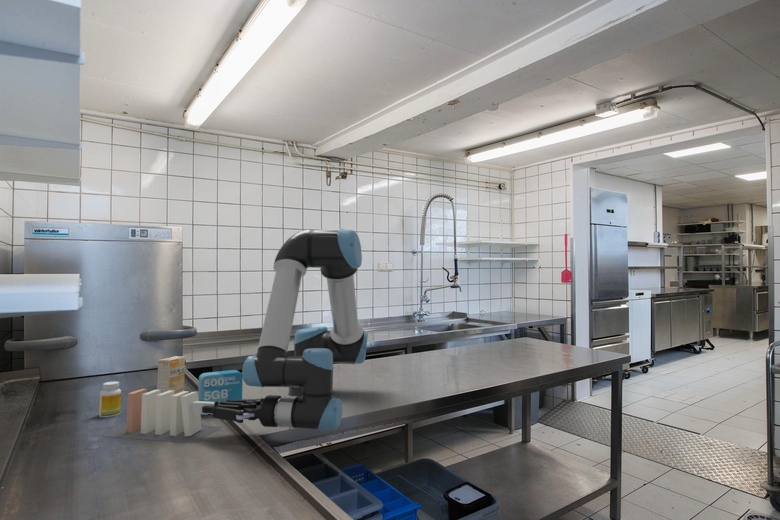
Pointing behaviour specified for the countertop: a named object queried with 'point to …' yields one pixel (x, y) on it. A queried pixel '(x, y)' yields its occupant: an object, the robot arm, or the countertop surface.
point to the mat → (165, 435)
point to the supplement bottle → (110, 400)
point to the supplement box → (171, 374)
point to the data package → (220, 386)
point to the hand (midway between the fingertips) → (194, 407)
